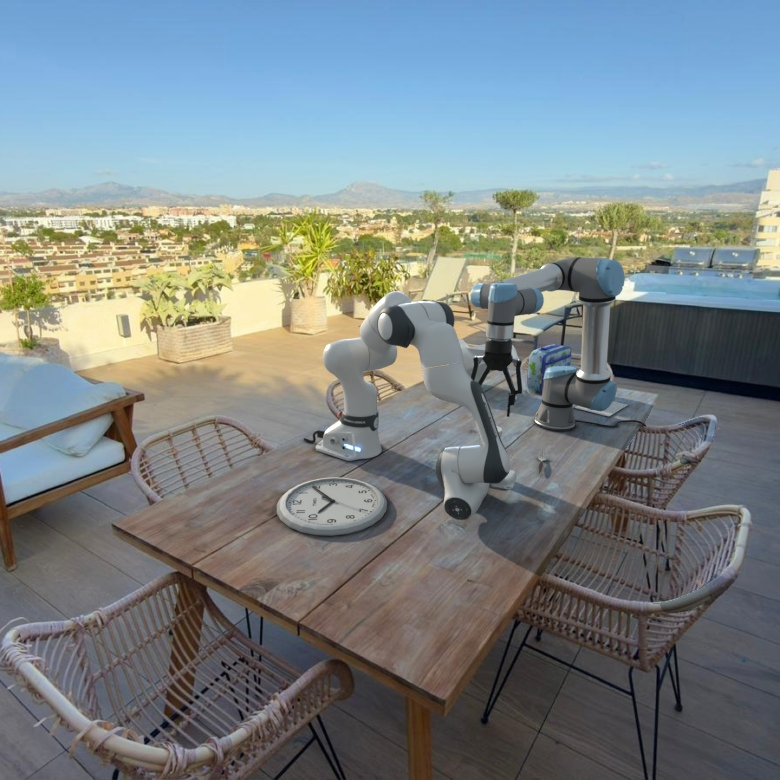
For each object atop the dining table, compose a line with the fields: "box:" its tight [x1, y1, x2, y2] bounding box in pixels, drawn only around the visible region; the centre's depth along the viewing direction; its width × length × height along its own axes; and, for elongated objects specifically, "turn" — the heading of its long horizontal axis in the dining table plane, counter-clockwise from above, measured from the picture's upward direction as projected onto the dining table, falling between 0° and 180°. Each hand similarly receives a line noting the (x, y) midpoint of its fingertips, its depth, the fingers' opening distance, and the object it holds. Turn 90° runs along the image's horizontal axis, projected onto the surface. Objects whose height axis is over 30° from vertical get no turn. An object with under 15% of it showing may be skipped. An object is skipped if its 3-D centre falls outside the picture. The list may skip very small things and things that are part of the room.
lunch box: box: [526, 343, 572, 394], centre depth 247 cm, size 26×11×21 cm, turn 134°
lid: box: [496, 425, 503, 438], centre depth 157 cm, size 6×6×2 cm
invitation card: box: [573, 400, 629, 418], centre depth 226 cm, size 21×1×15 cm
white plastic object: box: [448, 338, 531, 400], centre depth 245 cm, size 37×45×31 cm
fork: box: [538, 449, 548, 474], centre depth 169 cm, size 3×16×2 cm, turn 160°
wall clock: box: [276, 476, 388, 537], centre depth 142 cm, size 30×2×30 cm
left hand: (485, 463), depth 156 cm, fingers open, 8 cm apart
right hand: (493, 413), depth 155 cm, fingers open, 8 cm apart
